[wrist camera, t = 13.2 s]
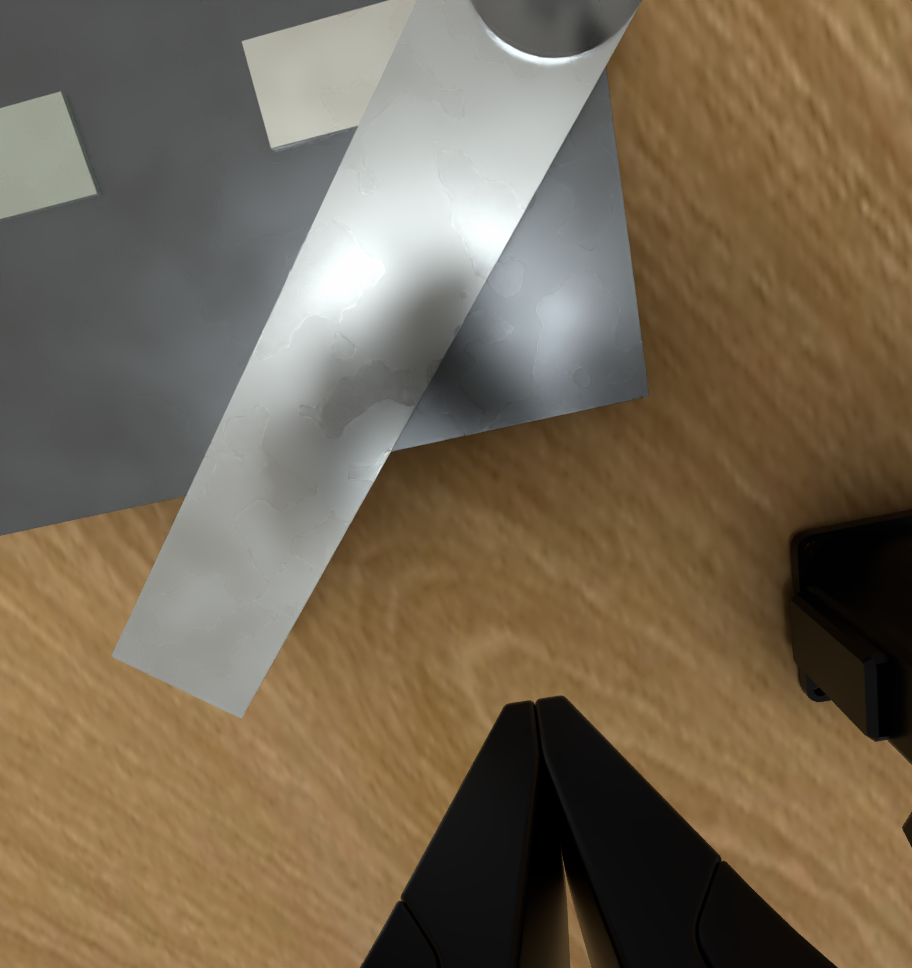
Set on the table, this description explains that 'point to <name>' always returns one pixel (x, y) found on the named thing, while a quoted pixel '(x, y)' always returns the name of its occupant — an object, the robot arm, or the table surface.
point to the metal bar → (364, 325)
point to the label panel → (243, 241)
